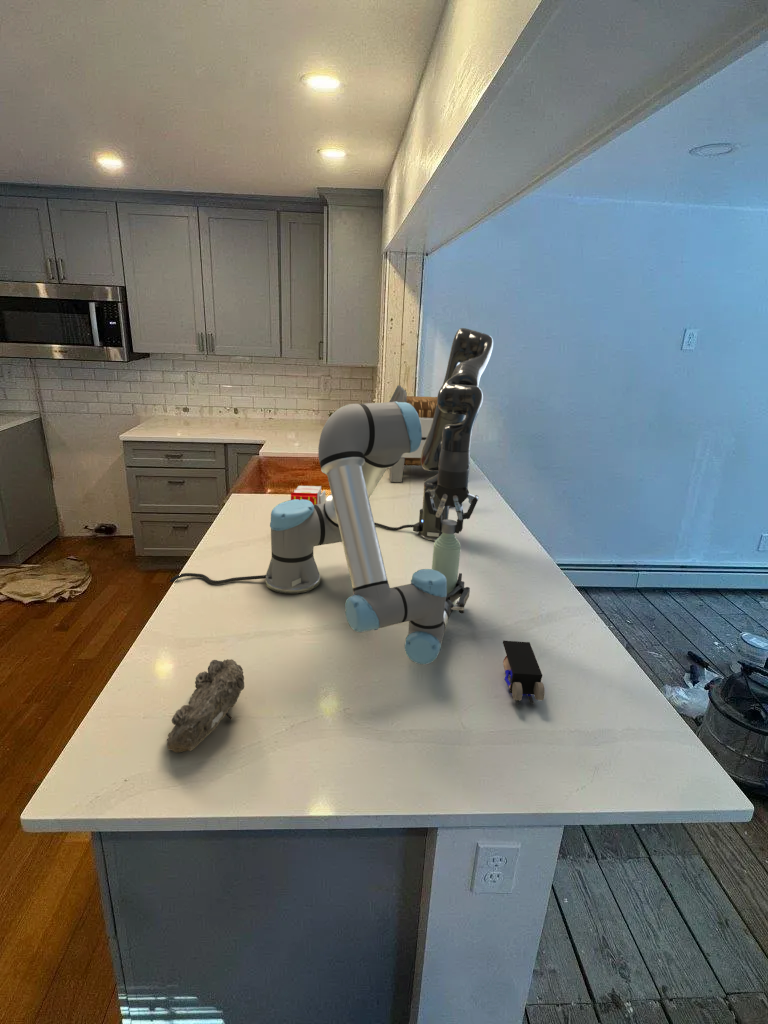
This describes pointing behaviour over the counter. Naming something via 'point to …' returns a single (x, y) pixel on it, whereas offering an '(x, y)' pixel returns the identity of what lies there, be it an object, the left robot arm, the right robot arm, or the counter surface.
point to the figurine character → (522, 671)
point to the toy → (309, 494)
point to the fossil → (206, 705)
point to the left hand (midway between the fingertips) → (446, 575)
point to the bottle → (447, 558)
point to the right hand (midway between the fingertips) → (448, 530)
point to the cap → (448, 526)
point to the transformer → (426, 414)
